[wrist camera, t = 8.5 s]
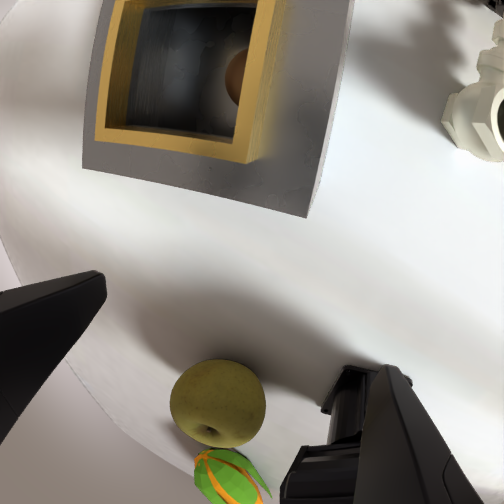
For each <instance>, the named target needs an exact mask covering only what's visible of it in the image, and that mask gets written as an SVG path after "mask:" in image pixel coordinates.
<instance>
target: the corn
mask: <svg viewBox="0 0 504 504" xmlns="http://www.w3.org/2000/svg"><path fill="white" fill-rule="evenodd" d="M194 461H195V470H194V479H195V485H196V486H197V487H198V488H199V490H200V491H201V492H202V493H203V494H204V495H205V496H206V497H207V498H208V500H209V501H210V502H211V503H212V504H263V501H262V497H261V495H260V492H259V490H258V487H257V485H256V484H255V483H254V481H253V480H252V479H251V477H250V476H249V475H248V473H247V472H246V470H247V471H248V472H249V473H250V474H251V475H252V476H253V478H254V479H255V480H256V481H257V482H258V483H259V484H260V485H261V486H262V487H263V488H264V489H265V490H266V491H267V492H268V494H269V495H270V497H271V498H272V496H271V493H270V491H269V489H268V487H267V486H266V484H265V483H264V481H263V480H262V478H261V477H260V475H259V474H258V472H257V471H256V469H255V468H254V466H253V465H252V464H251V462H250V461H249V460H247V459H246V458H245V457H243V456H242V455H241V454H239V453H236V452H232V451H229V450H219V449H215V448H209V449H206V450H203V451H202V452H200V453H198V456H197V457H196V458H195V459H194Z"/></svg>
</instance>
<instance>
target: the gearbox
mask: <svg viewBox="0 0 504 504" xmlns="http://www.w3.org/2000/svg"><path fill="white" fill-rule="evenodd" d="M353 7H354V0H103V4H102V8H101V12H100V16H99V21H98V25H97V30H96V35H95V40H94V46H93V51H92V57H91V63H90V70H89V77H88V85H87V94H86V104H85V116H84V131H83V155H82V168H84V169H89V170H95V171H100V172H106V173H111V174H116V175H121V176H126V177H131V178H136V179H141V180H146V181H151V182H156V183H161V184H165V185H170V186H175V187H179V188H184V189H188V190H193V191H197V192H202V193H206V194H210V195H215V196H219V197H223V198H227V199H231V200H236V201H240V202H244V203H248V204H252V205H256V206H260V207H264V208H268V209H272V210H276V211H280V212H284V213H287V214H291V215H295V216H299V217H302V218H307V216H308V213H309V211H310V208H311V205H312V203H313V200H314V198H315V195H316V192H317V190H318V187H319V184H320V179H321V175H322V171H323V166H324V162H325V157H326V153H327V148H328V144H329V139H330V134H331V129H332V125H333V120H334V115H335V110H336V105H337V100H338V95H339V90H340V84H341V79H342V74H343V68H344V62H345V57H346V51H347V45H348V39H349V33H350V27H351V20H352V13H353ZM247 48H249V50H248V56H247V61H246V66H245V72H244V78H243V83H242V89H241V95H240V101H239V106H237V105H236V104H235V103H234V102H233V101H232V100H231V98H230V97H229V95H228V93H227V90H226V87H225V72H226V69H227V67H228V65H229V63H230V61H231V60H232V59H233V58H234V57H235V56H236V55H237V54H238V53H240V52H241V51H243V50H245V49H247Z"/></svg>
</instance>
